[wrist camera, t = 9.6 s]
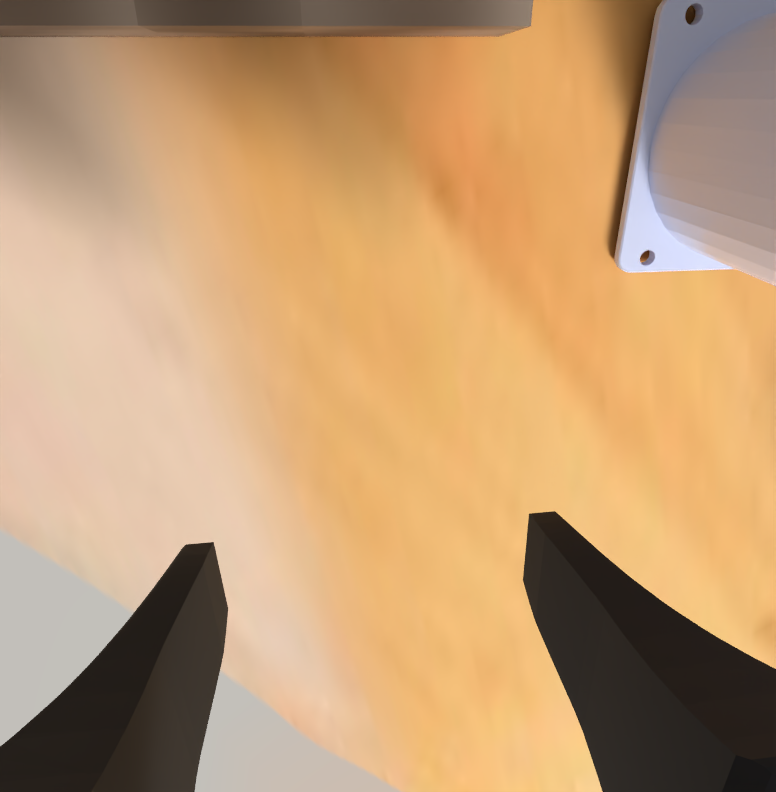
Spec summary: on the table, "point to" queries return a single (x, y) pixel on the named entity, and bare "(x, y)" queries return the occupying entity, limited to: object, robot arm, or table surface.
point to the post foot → (262, 18)
